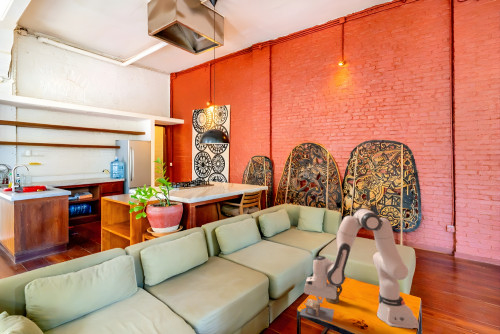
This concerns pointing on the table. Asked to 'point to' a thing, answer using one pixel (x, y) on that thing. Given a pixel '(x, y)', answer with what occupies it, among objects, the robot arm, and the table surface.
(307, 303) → the stool
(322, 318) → the mat
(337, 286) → the wooden mug
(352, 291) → the table surface
